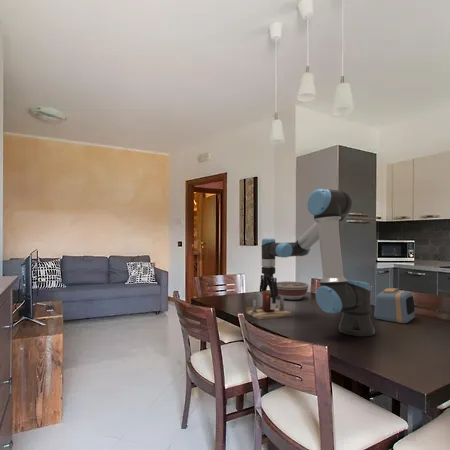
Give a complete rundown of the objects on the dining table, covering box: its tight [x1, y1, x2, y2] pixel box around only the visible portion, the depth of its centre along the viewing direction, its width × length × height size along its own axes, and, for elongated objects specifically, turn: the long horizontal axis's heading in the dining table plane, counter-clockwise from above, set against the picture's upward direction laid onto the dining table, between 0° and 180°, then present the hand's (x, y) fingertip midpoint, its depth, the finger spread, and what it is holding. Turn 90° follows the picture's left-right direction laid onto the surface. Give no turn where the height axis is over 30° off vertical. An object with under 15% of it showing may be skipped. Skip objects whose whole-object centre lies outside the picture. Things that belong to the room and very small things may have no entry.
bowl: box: [277, 280, 309, 301], centre depth 235 cm, size 23×23×10 cm
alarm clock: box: [373, 287, 416, 324], centre depth 180 cm, size 16×16×16 cm
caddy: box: [245, 296, 293, 320], centre depth 190 cm, size 16×20×8 cm
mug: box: [260, 289, 275, 312], centre depth 189 cm, size 12×9×10 cm
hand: (268, 307), depth 190 cm, fingers closed on mug, 9 cm apart
